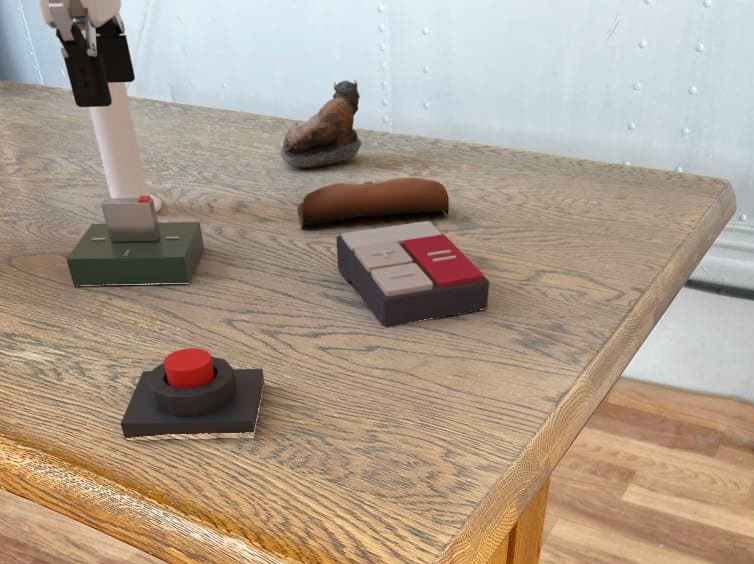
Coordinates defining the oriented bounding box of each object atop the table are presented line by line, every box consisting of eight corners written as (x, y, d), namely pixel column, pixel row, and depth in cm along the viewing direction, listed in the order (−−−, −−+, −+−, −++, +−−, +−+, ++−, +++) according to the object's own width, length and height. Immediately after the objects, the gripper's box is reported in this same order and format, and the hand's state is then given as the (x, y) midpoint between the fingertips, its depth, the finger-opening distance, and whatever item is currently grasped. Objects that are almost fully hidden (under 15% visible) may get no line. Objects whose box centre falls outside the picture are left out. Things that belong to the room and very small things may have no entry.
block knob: (110, 242, 85) (100, 201, 82) (114, 236, 86) (104, 195, 83) (157, 241, 85) (149, 200, 82) (160, 235, 86) (152, 195, 83)
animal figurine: (292, 176, 111) (284, 95, 104) (274, 163, 115) (265, 84, 109) (370, 164, 115) (368, 84, 108) (350, 151, 119) (346, 74, 113)
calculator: (383, 292, 74) (334, 228, 84) (383, 334, 77) (336, 267, 87) (491, 274, 77) (432, 214, 87) (488, 315, 80) (430, 252, 90)
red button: (164, 391, 62) (159, 371, 61) (172, 368, 65) (168, 348, 63) (210, 390, 62) (207, 370, 61) (217, 367, 65) (214, 347, 64)
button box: (125, 441, 62) (114, 403, 60) (147, 388, 68) (137, 351, 66) (254, 439, 62) (248, 400, 60) (264, 386, 68) (259, 348, 66)
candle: (125, 197, 104) (71, -38, 88) (172, 203, 103) (126, -36, 86) (92, 216, 99) (28, -30, 83) (141, 222, 98) (85, -28, 81)
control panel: (74, 287, 84) (65, 257, 82) (98, 250, 91) (91, 222, 89) (189, 285, 84) (183, 255, 82) (204, 248, 92) (199, 220, 89)
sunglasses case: (432, 192, 104) (440, 152, 97) (443, 237, 102) (452, 199, 95) (293, 204, 101) (292, 164, 94) (302, 250, 99) (302, 212, 92)
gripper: (39, -139, 73) (91, 74, 84) (-32, -134, 60) (41, 118, 71) (122, -141, 73) (163, 72, 84) (69, -137, 60) (126, 115, 71)
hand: (107, 93), depth 78 cm, fingers open, 9 cm apart
